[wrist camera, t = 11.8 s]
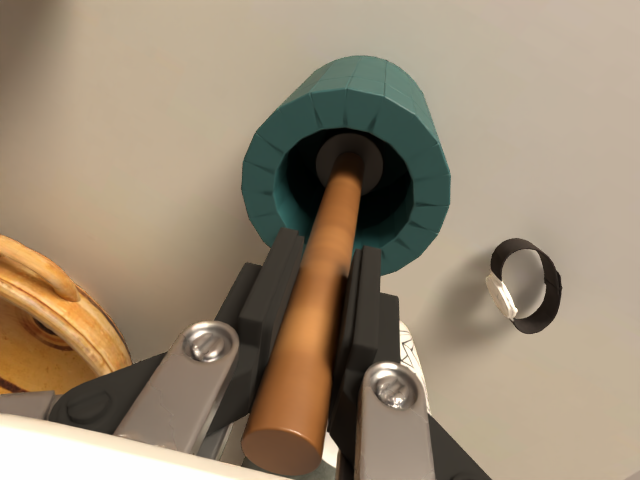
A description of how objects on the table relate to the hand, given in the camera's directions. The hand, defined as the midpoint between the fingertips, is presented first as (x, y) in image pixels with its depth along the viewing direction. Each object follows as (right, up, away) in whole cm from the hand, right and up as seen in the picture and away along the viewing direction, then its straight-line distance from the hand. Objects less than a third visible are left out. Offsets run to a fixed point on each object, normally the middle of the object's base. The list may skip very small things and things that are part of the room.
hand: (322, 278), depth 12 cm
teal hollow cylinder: (+2, +8, +13) cm, 16 cm away
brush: (+2, +7, +12) cm, 15 cm away
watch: (+15, -1, +17) cm, 23 cm away
